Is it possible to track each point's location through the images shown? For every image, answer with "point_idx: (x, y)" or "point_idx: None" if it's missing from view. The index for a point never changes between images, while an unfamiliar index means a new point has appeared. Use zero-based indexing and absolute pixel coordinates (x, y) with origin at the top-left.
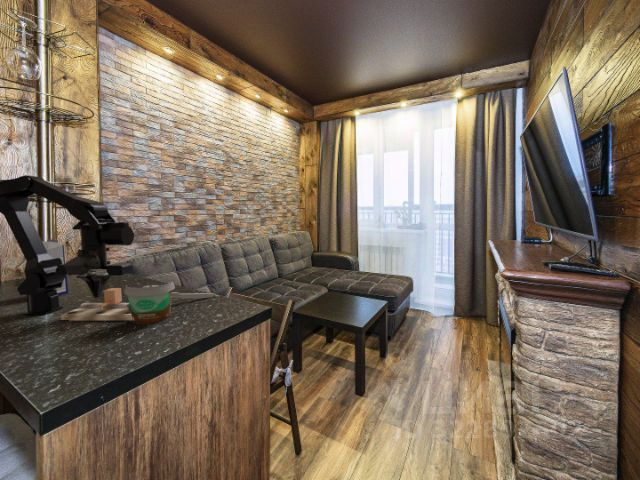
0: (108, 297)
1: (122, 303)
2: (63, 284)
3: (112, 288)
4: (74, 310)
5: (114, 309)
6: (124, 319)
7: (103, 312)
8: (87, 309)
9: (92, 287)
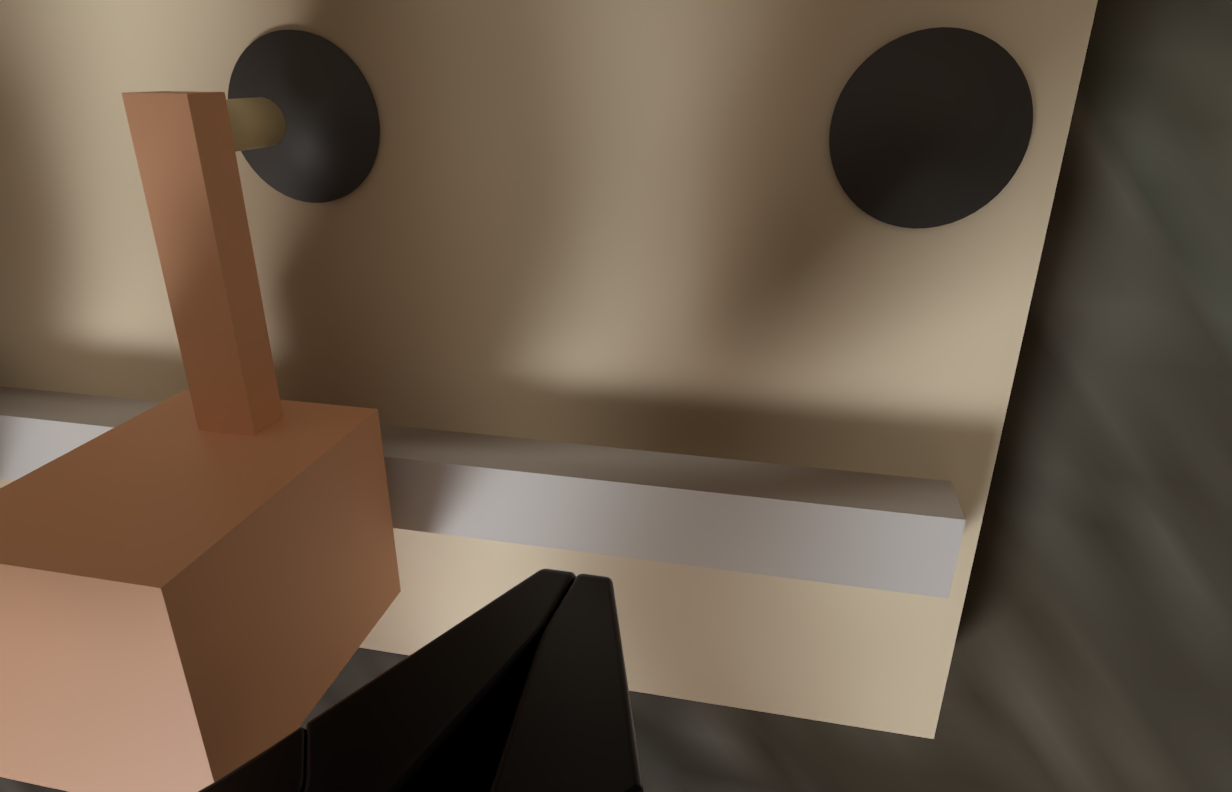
0: (197, 467)
1: None
2: None
3: (156, 784)
4: (977, 301)
5: None
6: None
7: None
8: (726, 348)
9: (499, 765)
